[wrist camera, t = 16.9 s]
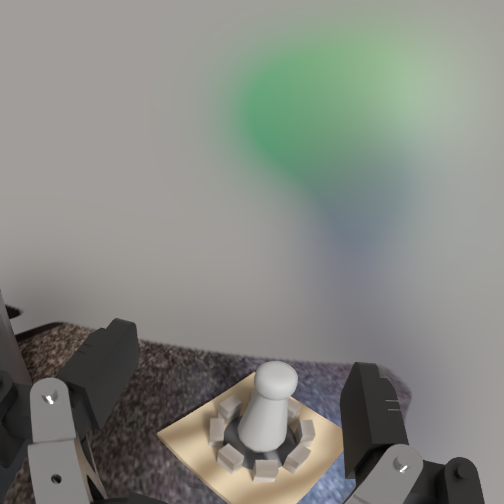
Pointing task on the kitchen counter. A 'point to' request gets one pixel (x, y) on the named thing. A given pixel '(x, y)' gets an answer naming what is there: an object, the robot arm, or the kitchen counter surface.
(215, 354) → the kitchen counter surface
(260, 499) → the stonehenge model
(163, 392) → the kitchen counter surface
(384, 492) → the robot arm
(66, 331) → the kitchen counter surface
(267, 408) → the salt shaker
